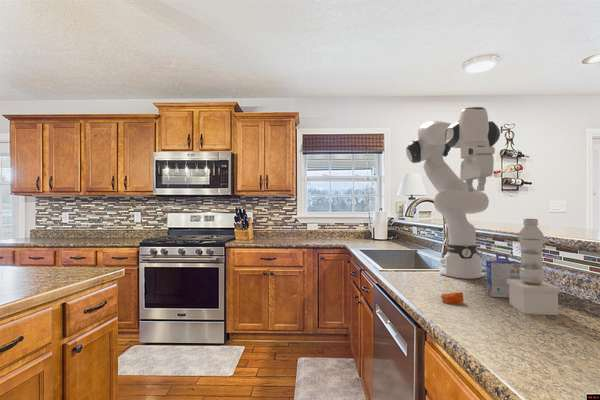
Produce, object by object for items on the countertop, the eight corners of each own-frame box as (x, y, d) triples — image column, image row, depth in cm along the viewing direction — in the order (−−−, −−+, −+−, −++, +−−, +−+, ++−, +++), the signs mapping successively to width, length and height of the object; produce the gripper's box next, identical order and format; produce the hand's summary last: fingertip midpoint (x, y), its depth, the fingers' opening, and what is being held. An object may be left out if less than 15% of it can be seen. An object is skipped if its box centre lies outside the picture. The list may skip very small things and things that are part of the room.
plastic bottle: (516, 283, 97) (515, 219, 97) (522, 279, 101) (521, 218, 102) (542, 287, 92) (540, 219, 92) (547, 283, 97) (546, 218, 97)
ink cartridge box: (516, 294, 112) (515, 254, 113) (523, 299, 107) (522, 256, 107) (485, 293, 114) (485, 253, 115) (492, 297, 109) (491, 256, 109)
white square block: (507, 303, 102) (506, 279, 103) (541, 304, 101) (540, 280, 101) (523, 314, 93) (522, 287, 93) (561, 315, 91) (560, 288, 91)
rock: (426, 299, 110) (426, 287, 111) (459, 297, 112) (458, 285, 112) (445, 310, 99) (444, 296, 99) (481, 308, 100) (481, 295, 100)
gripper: (455, 157, 121) (456, 192, 121) (476, 147, 101) (476, 190, 101) (473, 156, 120) (473, 192, 120) (497, 147, 100) (498, 190, 99)
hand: (475, 191), depth 110 cm, fingers open, 8 cm apart
